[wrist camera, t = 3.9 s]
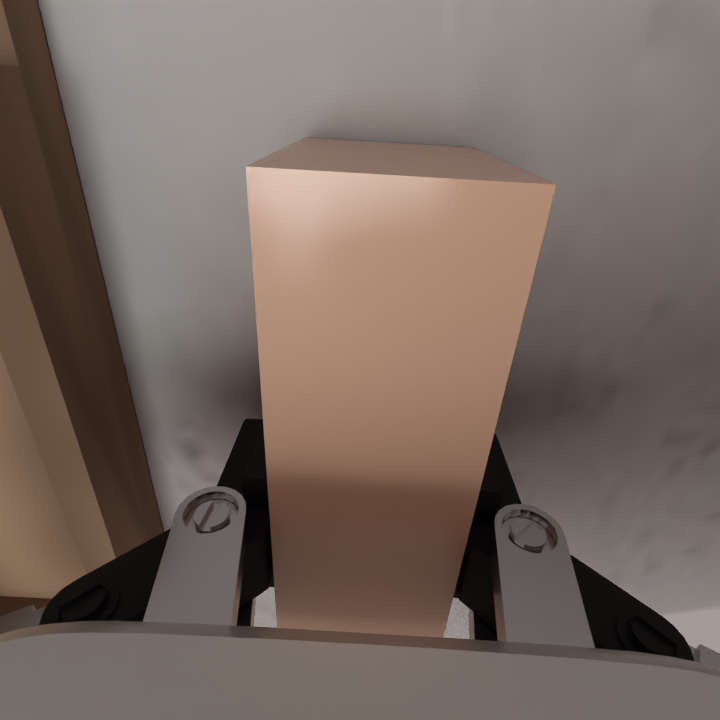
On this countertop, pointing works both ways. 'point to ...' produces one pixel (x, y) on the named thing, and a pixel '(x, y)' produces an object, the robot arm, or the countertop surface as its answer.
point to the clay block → (383, 366)
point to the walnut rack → (56, 351)
